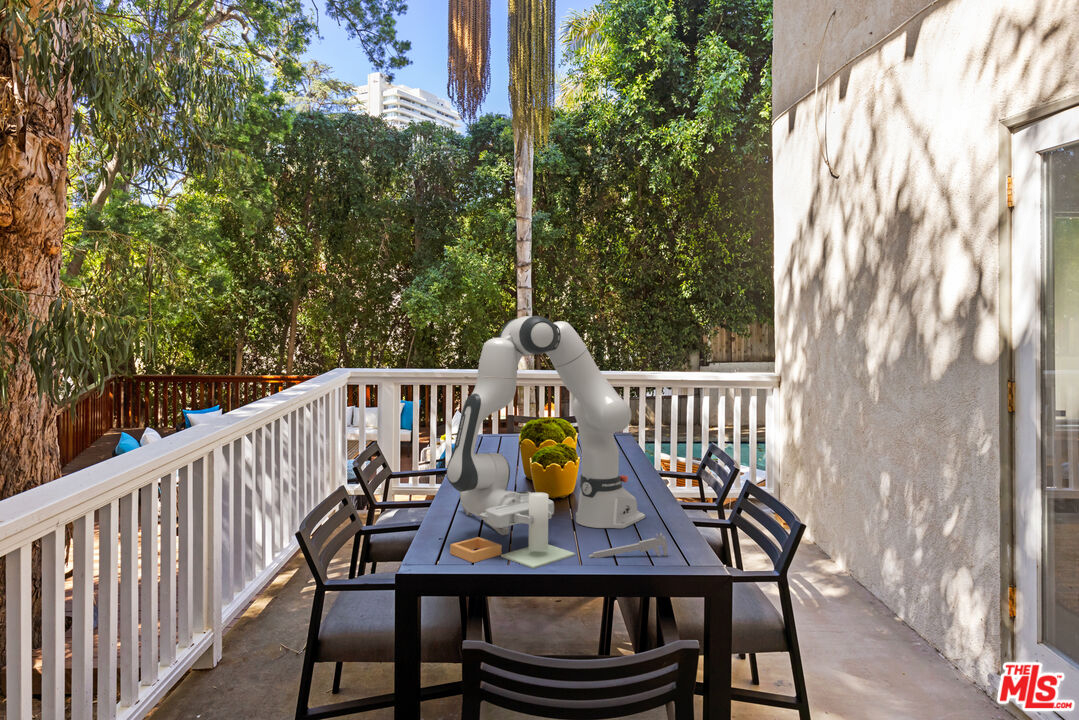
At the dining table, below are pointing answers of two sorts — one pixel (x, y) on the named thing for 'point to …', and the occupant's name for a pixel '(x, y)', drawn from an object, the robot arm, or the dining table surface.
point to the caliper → (635, 547)
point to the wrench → (500, 530)
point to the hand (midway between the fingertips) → (540, 518)
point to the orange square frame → (467, 553)
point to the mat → (537, 556)
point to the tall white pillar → (538, 521)
